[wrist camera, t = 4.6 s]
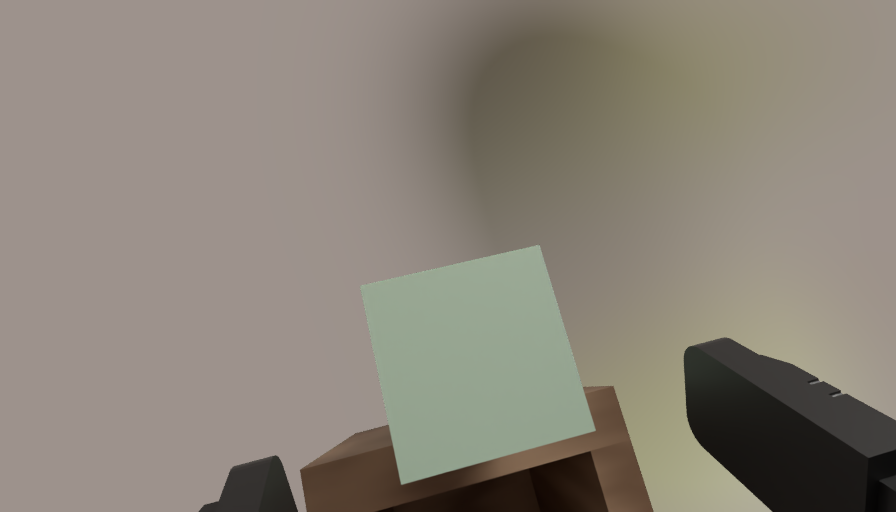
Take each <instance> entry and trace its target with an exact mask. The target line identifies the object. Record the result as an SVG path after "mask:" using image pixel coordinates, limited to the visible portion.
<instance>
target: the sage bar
mask: <svg viewBox="0 0 896 512" xmlns="http://www.w3.org/2000/svg"><path fill="white" fill-rule="evenodd" d="M360 289H361V293H362V298H363V303H364V307H365V313H366V318H367V322H368V327H369V332H370V337H371V342H372V346H373V351H374V356H375V361H376V366H377V371H378V375H379V380H380V384H381V390H382V395H383V399H384V404H385V409H386V414H387V419H388V423H389V428H390V433H391V438H392V443H393V448H394V452H395V457H396V462H397V467H398V472H399V477H400V481H401V485H402V484H406V483H409V482H413V481H417V480H420V479H424V478H428V477H431V476H435V475H438V474H442V473H446V472H449V471H453V470H456V469H460V468H464V467H467V466H471V465H474V464H478V463H482V462H485V461H489V460H492V459H496V458H500V457H503V456H507V455H510V454H514V453H518V452H521V451H525V450H529V449H532V448H536V447H539V446H543V445H547V444H550V443H554V442H557V441H561V440H565V439H568V438H572V437H575V436H579V435H583V434H586V433H590V432H593V431H596V429H595V426H594V423H593V419H592V416H591V413H590V410H589V406H588V403H587V400H586V397H585V393H584V390H583V387H582V384H581V380H580V377H579V374H578V370H577V367H576V364H575V361H574V358H573V354H572V351H571V347H570V344H569V341H568V338H567V334H566V331H565V328H564V324H563V321H562V318H561V315H560V311H559V308H558V305H557V302H556V298H555V295H554V292H553V288H552V285H551V282H550V279H549V275H548V272H547V269H546V266H545V262H544V259H543V256H542V253H541V249H540V246H539V245H537V246H533V247H528V248H524V249H520V250H515V251H511V252H507V253H503V254H498V255H493V256H489V257H485V258H481V259H476V260H471V261H467V262H463V263H458V264H454V265H450V266H445V267H441V268H436V269H432V270H428V271H424V272H419V273H414V274H410V275H406V276H401V277H397V278H393V279H388V280H384V281H379V282H375V283H371V284H366V285H362V286H360Z"/></svg>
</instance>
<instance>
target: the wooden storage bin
mask: <svg viewBox="0 0 896 512" xmlns="http://www.w3.org/2000/svg"><path fill="white" fill-rule="evenodd" d="M583 390H584V393H585V397H586V400H587V403H588V406H589V410H590V413H591V416H592V419H593V423H594V426H595V429H596V431H593V432H590V433H586V434H583V435H579V436H575V437H572V438H568V439H565V440H561V441H557V442H554V443H550V444H547V445H543V446H539V447H536V448H532V449H529V450H525V451H521V452H518V453H514V454H510V455H507V456H503V457H500V458H496V459H492V460H489V461H485V462H482V463H478V464H474V465H471V466H467V467H464V468H460V469H456V470H453V471H449V472H446V473H442V474H438V475H435V476H431V477H428V478H424V479H420V480H417V481H413V482H409V483H406V484H402V485H401V481H400V477H399V472H398V467H397V462H396V457H395V452H394V448H393V443H392V438H391V433H390V428H389V425H386V426H382V427H379V428H375V429H371V430H367V431H363V432H360V433H355V434H354V435H353V436H351V437H349V438H348V439H346V440H345V441H343V442H342V443H340V444H339V445H337V446H336V447H334V448H333V449H331V450H330V451H328V452H327V453H325V454H323V455H322V456H320V457H319V458H317V459H316V460H314V461H313V462H311V463H310V464H308V465H307V466H305V467H304V468H302V469H301V470H300V472H301V479H302V485H303V490H304V497H305V503H306V509H307V512H653V509H652V506H651V502H650V499H649V496H648V493H647V490H646V487H645V484H644V481H643V477H642V474H641V471H640V468H639V465H638V462H637V459H636V456H635V452H634V449H633V446H632V443H631V440H630V437H629V434H628V430H627V427H626V424H625V421H624V418H623V415H622V412H621V409H620V406H619V402H618V399H617V396H616V393H615V390H614V387H613V386H601V387H583Z"/></svg>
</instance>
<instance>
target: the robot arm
mask: <svg viewBox="0 0 896 512" xmlns="http://www.w3.org/2000/svg"><path fill="white" fill-rule="evenodd" d="M684 373H685V390H686V409H687V418H688V422H689V425H690V428H691V430H692V432H693V434H694V436H695V438H696V439H697V441H698V442H699V443H700V444H701V446H702V447H703V448H704V449H705V450H706V451H707V452H709V453H710V454H711V455H712V456H713V457H714V458H715V459H716V460H717V461H718V462H719V463H720V464H722V465H723V466H724V467H725V468H726V469H727V470H728V471H729V472H730V473H731V474H732V475H734V476H735V477H736V478H737V479H738V480H739V481H740V482H741V483H742V484H743V485H744V486H745V487H746V488H747V489H749V490H750V491H751V492H752V493H753V494H754V495H755V496H756V497H757V498H758V499H759V500H761V501H762V502H763V503H764V504H765V505H766V506H767V507H768V508H769V509H770V510H771V511H772V512H896V420H894V419H892V418H890V417H888V416H887V415H884V414H883V413H881V412H879V411H877V410H875V409H874V408H872V407H870V406H868V405H866V404H864V403H863V402H861V401H859V400H857V399H855V398H853V397H852V396H850V395H848V394H842V393H841V390H839V389H837V388H835V387H833V386H831V385H829V384H828V383H826V382H824V381H823V382H820V381H819V380H818V378H817V377H815V376H813V375H811V374H809V373H807V372H805V371H804V370H802V369H800V368H798V367H796V366H795V365H793V364H790V363H787V362H783V361H780V360H777V359H773V358H769V357H767V356H763V355H758V354H757V353H755V352H753V351H751V350H749V349H748V348H746V347H744V346H742V345H741V344H739V343H737V342H735V341H733V340H731V339H729V338H720V339H716V340H713V341H709V342H705V343H701V344H697V345H694V346H690V347H688V348H687V349H686V351H685V353H684ZM199 512H298V510H297V507H296V504H295V501H294V498H293V495H292V492H291V489H290V486H289V483H288V480H287V477H286V474H285V471H284V468H283V465H282V462H281V460H280V459H279V457H278V456H272V457H268V458H264V459H260V460H256V461H252V462H249V463H245V464H241V465H237V466H234V467H233V468H232V469H231V470H230V472H229V475H228V478H227V481H226V483H225V486H224V489H223V491H222V494H221V497H220V500H219V501H218V502H214V503H210V504H207V505H204V506H203V507H202V508H201V510H200V511H199Z"/></svg>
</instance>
